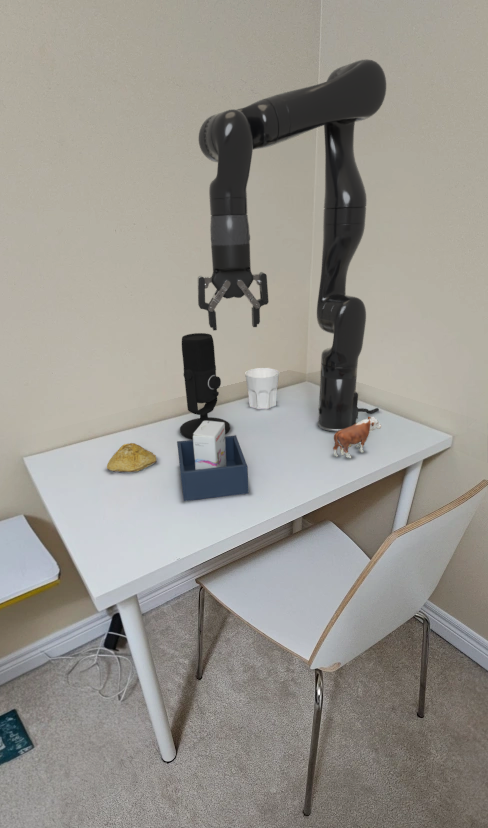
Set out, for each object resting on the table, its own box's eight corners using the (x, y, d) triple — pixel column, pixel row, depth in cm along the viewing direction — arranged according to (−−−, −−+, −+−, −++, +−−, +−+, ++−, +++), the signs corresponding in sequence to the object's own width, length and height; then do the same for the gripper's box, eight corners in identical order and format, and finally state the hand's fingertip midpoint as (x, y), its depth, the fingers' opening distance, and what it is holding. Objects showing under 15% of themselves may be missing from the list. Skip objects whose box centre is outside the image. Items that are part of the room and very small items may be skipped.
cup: (285, 403, 145) (285, 371, 140) (263, 413, 139) (263, 380, 134) (261, 396, 151) (260, 365, 146) (239, 405, 145) (237, 373, 140)
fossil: (122, 452, 105) (100, 440, 111) (121, 478, 107) (99, 465, 113) (164, 448, 113) (141, 437, 119) (162, 472, 115) (139, 460, 121)
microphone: (210, 444, 122) (202, 345, 109) (169, 434, 128) (157, 339, 116) (239, 425, 132) (235, 333, 119) (200, 417, 138) (192, 328, 125)
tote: (237, 460, 113) (236, 435, 110) (248, 493, 100) (247, 465, 97) (180, 466, 112) (176, 441, 108) (183, 501, 98) (180, 473, 95)
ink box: (218, 487, 101) (214, 436, 96) (196, 485, 102) (190, 435, 96) (228, 468, 109) (224, 420, 103) (206, 467, 110) (202, 419, 104)
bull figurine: (381, 448, 116) (385, 417, 112) (338, 463, 110) (340, 430, 106) (369, 442, 119) (372, 412, 115) (326, 456, 114) (328, 424, 110)
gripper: (262, 239, 96) (264, 322, 104) (192, 242, 94) (199, 327, 103) (270, 241, 90) (271, 329, 98) (195, 244, 88) (202, 334, 96)
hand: (234, 328), depth 100 cm, fingers open, 8 cm apart
